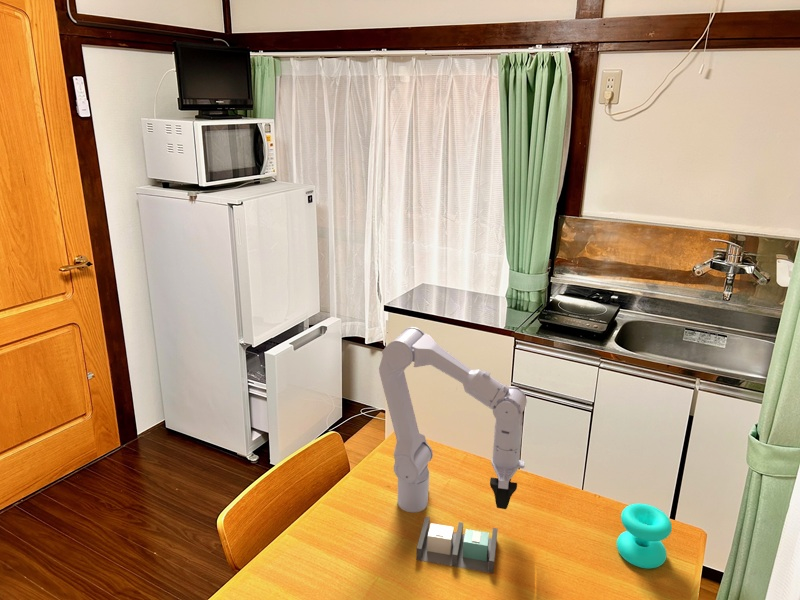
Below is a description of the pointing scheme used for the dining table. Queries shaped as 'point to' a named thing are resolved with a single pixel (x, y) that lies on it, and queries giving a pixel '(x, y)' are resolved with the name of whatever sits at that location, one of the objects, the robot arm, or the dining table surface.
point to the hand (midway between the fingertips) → (502, 496)
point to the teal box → (475, 545)
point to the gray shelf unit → (456, 551)
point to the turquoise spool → (644, 535)
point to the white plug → (440, 539)
